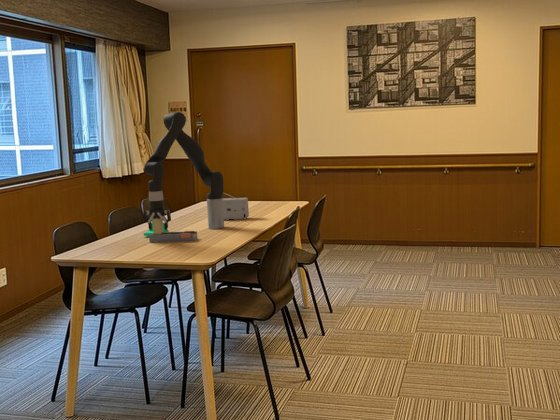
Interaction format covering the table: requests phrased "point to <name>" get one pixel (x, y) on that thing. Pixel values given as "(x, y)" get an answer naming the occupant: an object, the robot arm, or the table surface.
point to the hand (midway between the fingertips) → (158, 229)
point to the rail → (174, 237)
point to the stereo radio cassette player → (235, 208)
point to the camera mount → (153, 230)
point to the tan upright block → (158, 226)
